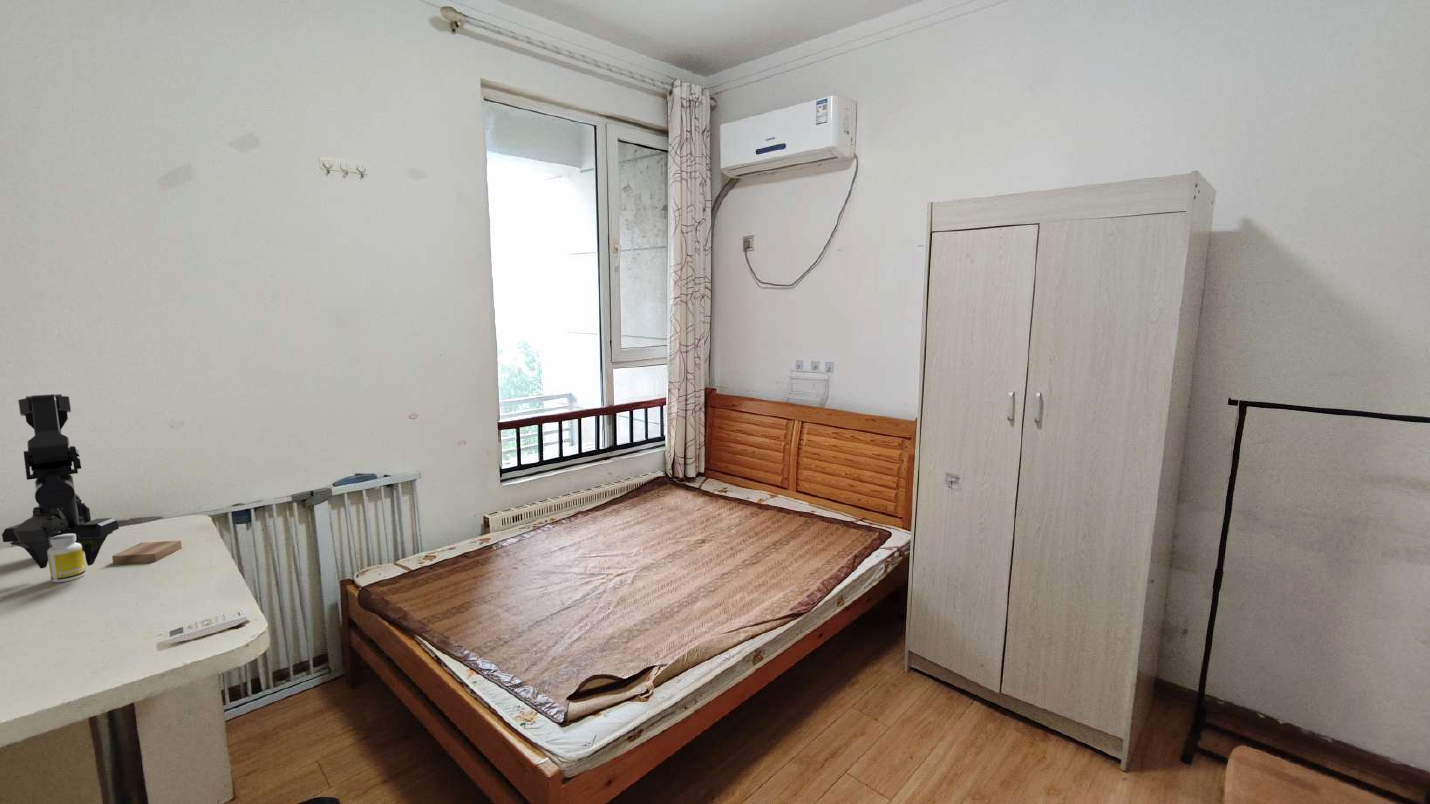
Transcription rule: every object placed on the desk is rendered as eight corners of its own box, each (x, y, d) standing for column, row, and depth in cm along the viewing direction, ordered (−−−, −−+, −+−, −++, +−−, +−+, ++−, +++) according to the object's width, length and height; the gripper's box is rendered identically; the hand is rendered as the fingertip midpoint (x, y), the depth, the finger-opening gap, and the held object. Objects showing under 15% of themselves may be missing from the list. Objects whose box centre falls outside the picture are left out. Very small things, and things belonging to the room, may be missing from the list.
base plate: (113, 564, 147) (112, 556, 147) (141, 550, 156) (140, 542, 156) (155, 561, 148) (154, 553, 148) (181, 548, 157) (180, 540, 157)
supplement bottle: (92, 573, 142) (86, 532, 140) (66, 583, 136) (59, 540, 135) (71, 572, 142) (65, 531, 141) (44, 582, 137) (37, 540, 135)
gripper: (-30, 512, 127) (-18, 584, 129) (73, 507, 130) (84, 578, 132) (21, 497, 138) (32, 563, 140) (115, 493, 141) (125, 558, 143)
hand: (67, 566), depth 139 cm, fingers open, 9 cm apart
